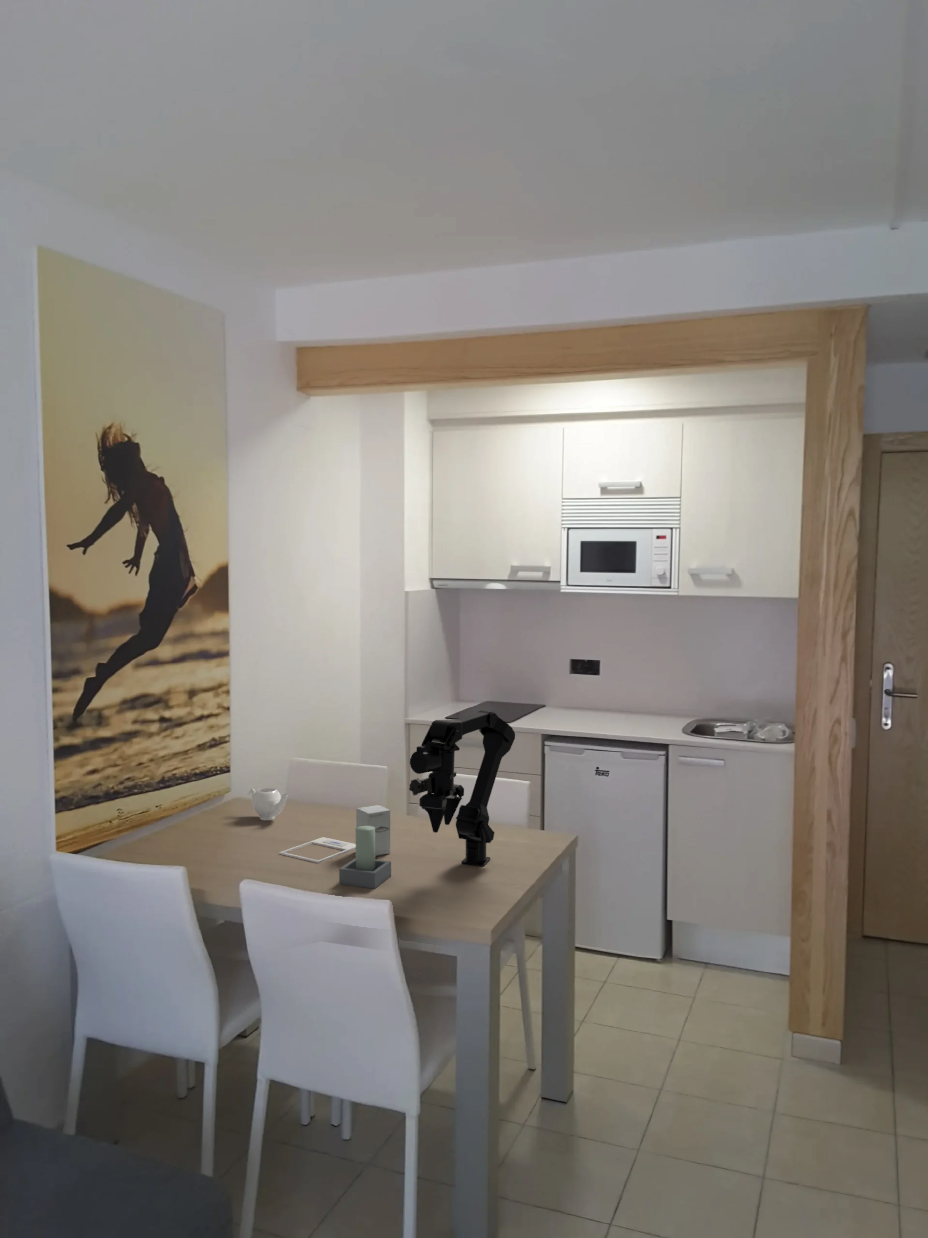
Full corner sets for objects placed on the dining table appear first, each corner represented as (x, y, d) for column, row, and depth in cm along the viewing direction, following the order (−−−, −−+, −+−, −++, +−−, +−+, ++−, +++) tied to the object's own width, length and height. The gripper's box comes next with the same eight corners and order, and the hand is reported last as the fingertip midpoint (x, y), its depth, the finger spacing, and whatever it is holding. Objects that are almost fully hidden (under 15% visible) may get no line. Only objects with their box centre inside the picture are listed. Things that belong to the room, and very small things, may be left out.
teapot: (260, 810, 319) (259, 782, 319) (298, 821, 306) (298, 792, 306) (235, 816, 312) (235, 787, 312) (274, 827, 299) (274, 798, 299)
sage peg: (368, 873, 254) (368, 824, 253) (379, 878, 250) (378, 829, 249) (352, 877, 251) (351, 828, 250) (362, 882, 247) (362, 832, 246)
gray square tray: (356, 872, 257) (356, 857, 257) (391, 876, 254) (391, 861, 253) (339, 884, 247) (339, 868, 247) (375, 888, 244) (374, 873, 244)
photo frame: (360, 844, 279) (318, 860, 264) (360, 848, 279) (318, 864, 264) (322, 836, 287) (279, 851, 272) (322, 840, 287) (279, 855, 273)
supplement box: (367, 858, 269) (367, 813, 268) (355, 851, 275) (355, 807, 274) (391, 854, 273) (391, 809, 272) (378, 847, 279) (378, 804, 278)
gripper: (426, 761, 264) (424, 818, 264) (401, 772, 246) (399, 833, 246) (465, 764, 260) (463, 822, 261) (442, 776, 243) (440, 838, 243)
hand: (441, 828), depth 253 cm, fingers open, 9 cm apart
